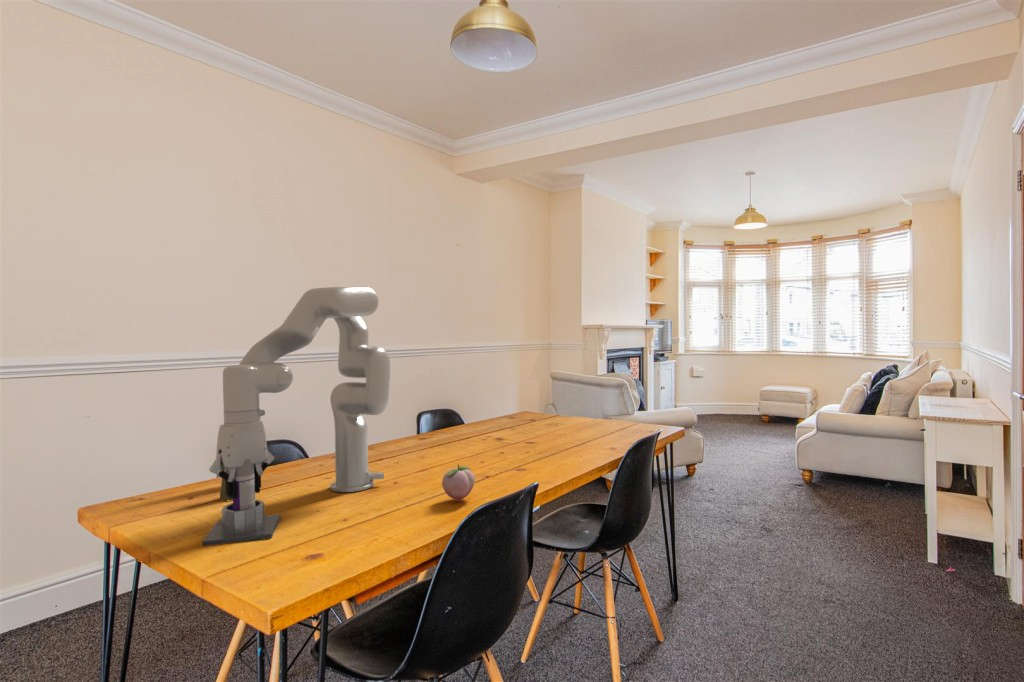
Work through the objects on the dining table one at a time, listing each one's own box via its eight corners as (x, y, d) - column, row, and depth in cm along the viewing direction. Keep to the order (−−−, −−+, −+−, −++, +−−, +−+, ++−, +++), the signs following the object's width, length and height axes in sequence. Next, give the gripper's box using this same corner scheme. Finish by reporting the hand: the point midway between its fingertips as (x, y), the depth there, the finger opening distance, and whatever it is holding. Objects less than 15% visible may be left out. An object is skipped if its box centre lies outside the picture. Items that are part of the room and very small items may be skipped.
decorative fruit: (454, 494, 150) (453, 459, 150) (479, 497, 146) (478, 462, 146) (435, 504, 142) (435, 466, 142) (461, 507, 138) (461, 469, 138)
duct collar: (280, 517, 132) (280, 494, 132) (271, 538, 119) (270, 511, 119) (218, 524, 129) (218, 499, 129) (201, 545, 115) (201, 518, 115)
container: (231, 520, 124) (229, 457, 124) (252, 516, 127) (251, 454, 127) (236, 526, 121) (234, 461, 120) (258, 521, 124) (256, 457, 123)
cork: (233, 501, 147) (232, 462, 146) (214, 500, 148) (213, 461, 148) (248, 495, 152) (247, 457, 152) (230, 494, 154) (229, 456, 154)
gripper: (269, 411, 133) (271, 483, 133) (196, 421, 119) (198, 501, 120) (284, 414, 128) (286, 488, 128) (209, 424, 115) (212, 507, 115)
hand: (243, 493), depth 124 cm, fingers closed on container, 4 cm apart
